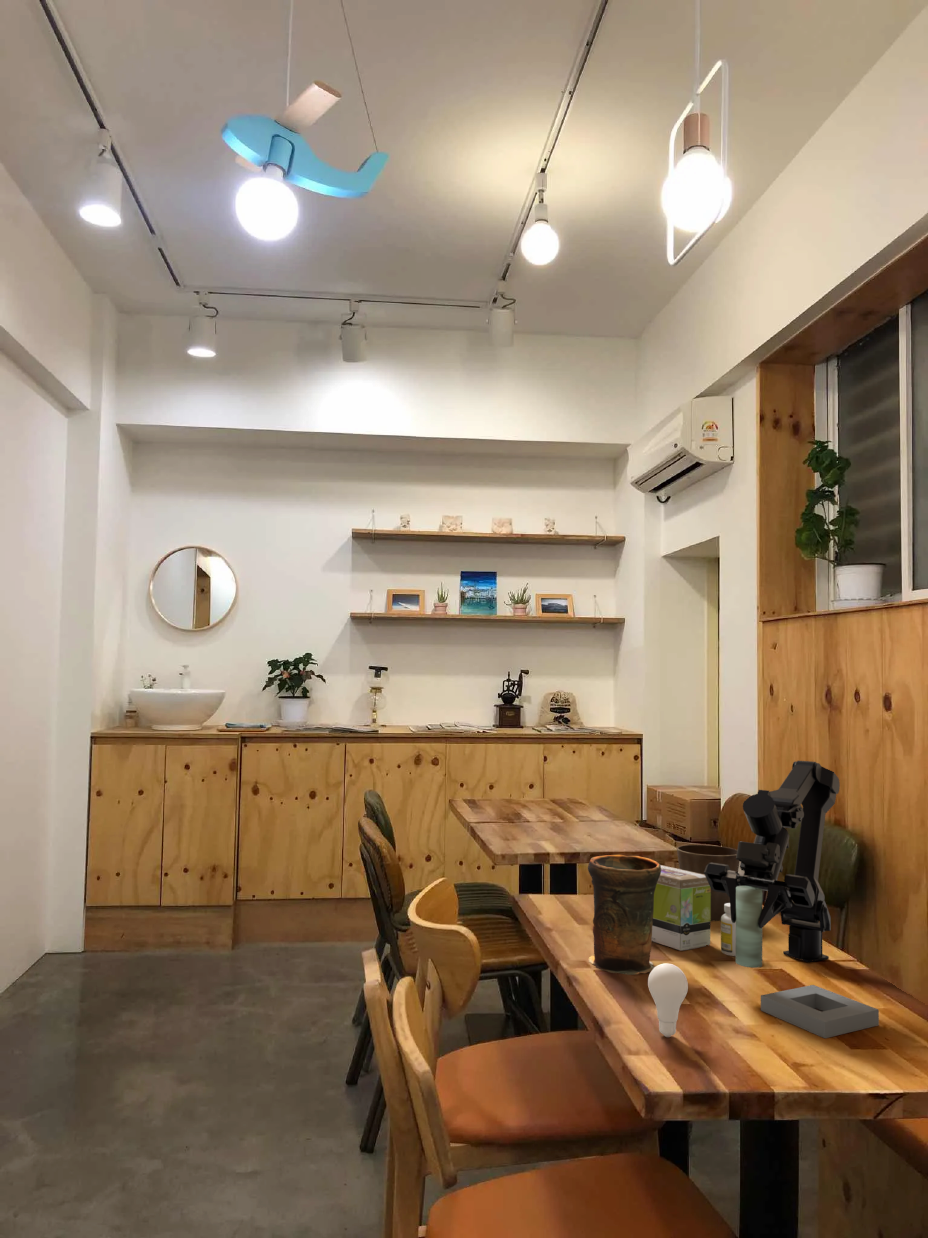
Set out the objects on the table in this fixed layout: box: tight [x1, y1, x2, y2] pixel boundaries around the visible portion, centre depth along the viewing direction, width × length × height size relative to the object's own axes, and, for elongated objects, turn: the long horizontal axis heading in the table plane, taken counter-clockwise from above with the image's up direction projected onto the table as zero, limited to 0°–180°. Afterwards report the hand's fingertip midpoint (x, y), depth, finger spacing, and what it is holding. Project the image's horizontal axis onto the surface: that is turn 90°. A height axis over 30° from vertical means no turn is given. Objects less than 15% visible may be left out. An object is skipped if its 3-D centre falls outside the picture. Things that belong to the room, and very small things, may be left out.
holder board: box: [760, 984, 880, 1039], centre depth 145 cm, size 13×13×2 cm
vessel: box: [587, 854, 661, 976], centre depth 173 cm, size 14×14×20 cm
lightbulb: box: [647, 963, 689, 1038], centre depth 136 cm, size 6×6×11 cm
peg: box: [735, 886, 763, 969], centre depth 155 cm, size 4×4×13 cm
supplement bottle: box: [720, 903, 736, 957], centre depth 181 cm, size 5×5×10 cm
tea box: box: [651, 864, 712, 951], centre depth 190 cm, size 15×10×15 cm, turn 34°
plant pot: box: [676, 844, 741, 922], centre depth 210 cm, size 15×15×16 cm
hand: (746, 924), depth 153 cm, fingers closed on peg, 4 cm apart
